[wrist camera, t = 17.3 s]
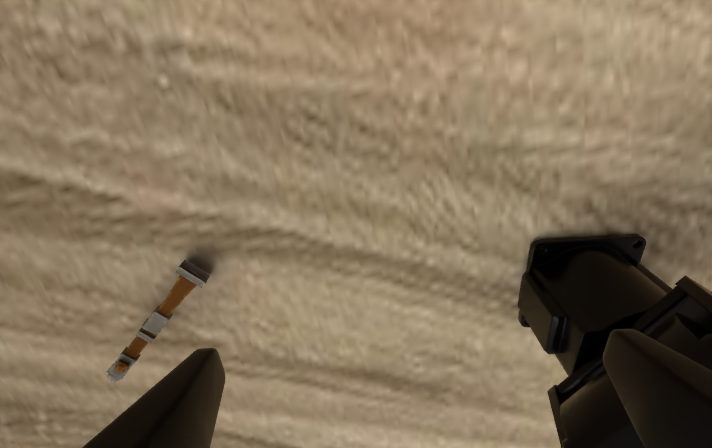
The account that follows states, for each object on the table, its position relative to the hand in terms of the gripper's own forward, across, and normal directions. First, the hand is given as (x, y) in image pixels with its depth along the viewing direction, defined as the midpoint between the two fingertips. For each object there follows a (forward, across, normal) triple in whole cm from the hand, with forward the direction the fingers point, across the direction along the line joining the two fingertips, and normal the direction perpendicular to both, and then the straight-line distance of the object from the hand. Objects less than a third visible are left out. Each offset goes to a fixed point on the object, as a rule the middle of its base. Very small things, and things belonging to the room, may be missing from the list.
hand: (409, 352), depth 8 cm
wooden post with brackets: (+13, +14, +8) cm, 21 cm away
